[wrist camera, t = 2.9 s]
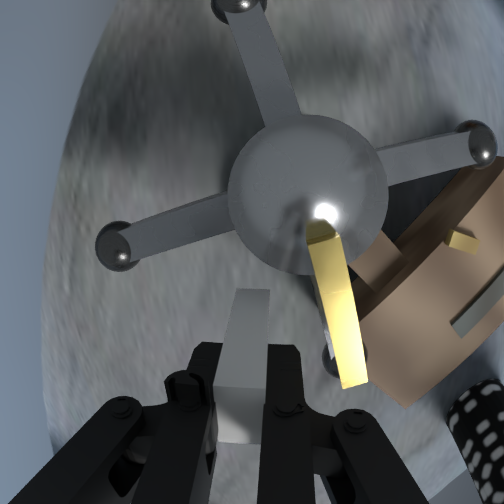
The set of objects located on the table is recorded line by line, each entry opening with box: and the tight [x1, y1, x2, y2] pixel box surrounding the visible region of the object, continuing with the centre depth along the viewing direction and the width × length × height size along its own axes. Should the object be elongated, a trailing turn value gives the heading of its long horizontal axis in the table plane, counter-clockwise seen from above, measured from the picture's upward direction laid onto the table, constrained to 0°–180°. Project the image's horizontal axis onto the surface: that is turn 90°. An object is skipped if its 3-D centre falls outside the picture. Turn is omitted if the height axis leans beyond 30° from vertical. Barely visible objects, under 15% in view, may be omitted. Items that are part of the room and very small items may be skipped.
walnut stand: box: [348, 156, 504, 409], centre depth 20 cm, size 18×16×6 cm
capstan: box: [95, 0, 498, 389], centre depth 16 cm, size 22×22×11 cm
